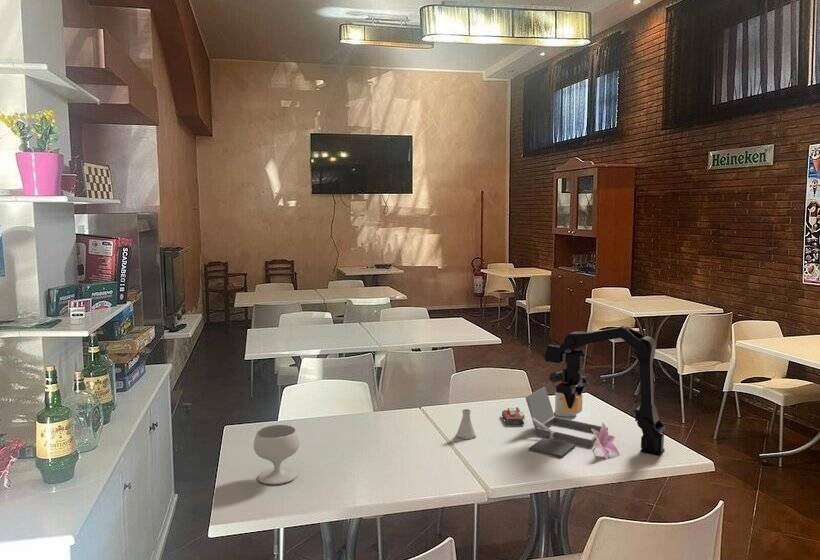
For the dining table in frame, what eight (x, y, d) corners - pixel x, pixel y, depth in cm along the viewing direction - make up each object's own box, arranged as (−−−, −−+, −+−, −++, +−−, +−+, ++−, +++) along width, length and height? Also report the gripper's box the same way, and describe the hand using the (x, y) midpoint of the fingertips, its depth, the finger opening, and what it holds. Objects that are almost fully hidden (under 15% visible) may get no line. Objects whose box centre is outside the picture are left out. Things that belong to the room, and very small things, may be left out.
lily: (586, 463, 203) (601, 442, 199) (574, 438, 213) (588, 418, 209) (616, 470, 206) (631, 450, 202) (603, 445, 216) (617, 425, 212)
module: (582, 410, 226) (582, 395, 225) (577, 413, 222) (578, 398, 222) (566, 407, 229) (567, 392, 229) (562, 410, 226) (562, 395, 225)
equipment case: (607, 434, 227) (608, 398, 226) (590, 448, 213) (591, 410, 211) (543, 420, 242) (543, 386, 241) (523, 433, 228) (523, 397, 227)
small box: (574, 412, 252) (574, 387, 251) (576, 416, 247) (577, 391, 246) (554, 411, 253) (555, 387, 252) (556, 416, 248) (557, 391, 247)
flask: (479, 438, 223) (479, 411, 222) (461, 440, 220) (462, 414, 219) (470, 431, 230) (470, 406, 229) (453, 434, 227) (453, 408, 226)
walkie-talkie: (529, 427, 236) (519, 411, 255) (529, 416, 235) (519, 400, 255) (506, 427, 236) (498, 411, 255) (506, 416, 235) (498, 401, 255)
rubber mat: (575, 447, 214) (575, 444, 213) (561, 458, 204) (561, 455, 204) (543, 440, 221) (543, 437, 221) (529, 450, 211) (529, 447, 211)
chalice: (258, 468, 196) (257, 424, 195) (302, 467, 197) (301, 422, 196) (250, 487, 182) (249, 439, 181) (297, 486, 183) (296, 438, 182)
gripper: (562, 358, 236) (561, 397, 238) (542, 367, 221) (541, 409, 223) (590, 362, 230) (589, 402, 231) (571, 372, 215) (570, 414, 216)
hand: (572, 406), depth 226 cm, fingers closed on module, 4 cm apart
